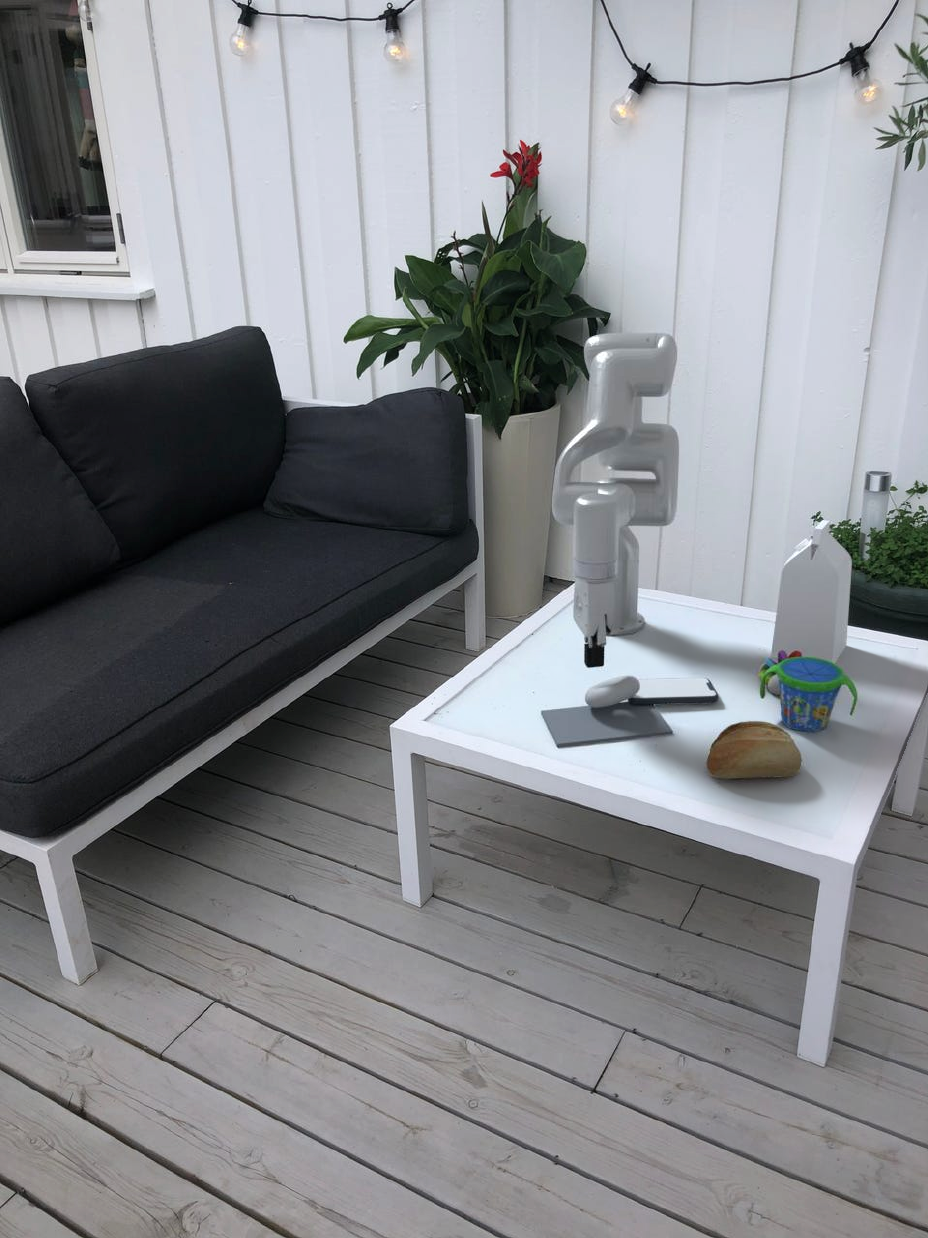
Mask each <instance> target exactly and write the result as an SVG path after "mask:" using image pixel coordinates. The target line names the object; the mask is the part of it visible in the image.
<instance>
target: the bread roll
mask: <svg viewBox="0 0 928 1238" xmlns="http://www.w3.org/2000/svg"><path fill="white" fill-rule="evenodd" d="M802 763H803V759H802V754H801V751H800V750H799V748H798V746H797V745H796V742H795V740H794V739H793V738H792V736H791V734H789V733H788V732H787V731H786V730H784V729H783V728H782V727H780V726H779V725H777V724H774V723H771V722H767V721H762V720H761V721H759V720H758V721H755V720H754V721H753V720H751V721H750V720H749V721H748V720H747V721H741V722H736V723H733V724H730V725H728V726H727V727H725V729H723V730H722V731H721V732H720V733H719V735H718V736H717V738H716V739H715V740H714V741H713V742H712V744H711V746H710V749H709V752H708V755H707V758H706V763H705V764H706V770H707V772H708V773H709V774H710V776H712V777H716V778H718V779H748V778H749V779H753V778H754V779H755V778H756V779H757V778H788V777H791V776H794V775H795V774H797V773H798V772H799V771H801V768H802Z"/></svg>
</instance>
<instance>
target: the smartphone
mask: <svg viewBox="0 0 928 1238" xmlns="http://www.w3.org/2000/svg"><path fill="white" fill-rule="evenodd" d="M637 679H638V681H639V684H640V689H639V691H638V693H636V694H635V695H634V696H633V697H631V698H629V699H627V702H629V703H630V704H632V705H657V706H659V705H689V704H715V703H718V701H719V693H718V691H717V690H716V688H715V686H714V685H713V683H712V682H711V680H710V679H709V678H707V677H675V678H673V677H669V678H637Z"/></svg>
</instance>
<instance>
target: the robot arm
mask: <svg viewBox="0 0 928 1238" xmlns="http://www.w3.org/2000/svg"><path fill="white" fill-rule="evenodd" d="M584 343H585V344H584V347H583V357H584V363H585V365H586V369H587V372H588V374H589V380H588V381H589V382H588V391H587V401H586V410H585V411H586V412H585V423H584V427H583V428H582V430H580V431H579V432H578V433H577V434H576V435H575V436H574V437H573V438H572V439H571V440H570V441H569V442H568V443H567V445H566V446H565V448H564V449H563V451H562V452H561V454H560V455H559V457H558V459H557V462H556V465H555V469H554V478H553V484H552V485H553V487H552V495H551V512H552V516H553V517H554V519H555V521H556V522H557V523H559V524H562V525H566V526H573V549H572V550H573V553H572V554H573V559H572V560H573V561H572V562H573V565H572V566H573V569H572V570H573V571H572V572H573V575H572V576H573V577H574V578H575V579H574V580H575V581H574V593H573V594H574V595H573V613H572V614H573V615H572V616H573V617H572V618H573V620H574V622H575V624H576V625H577V627H578V629H579V630H580V632H581V633H582V635H583V638H584V645H583V646H584V647H583V649H584V650H583V651H584V653H583V655H584V657H583V662H584V663H583V664H584V665H585V667H586V668H588V669H592V668H603V667H604V666H605V646H606V645H607V635H608V636H611V635H612V636H614V635H616V636H620V635H629V634H633V633H636V632H638V631H640V630H642V628H644V626H645V617H644V616H643V615H642V614H641V613H639V612H638V604H639V603H638V601H639V600H638V599H639V598H638V597H639V596H638V594H639V569H640V568H639V567H640V563H639V562H640V544H639V541H638V539H637V537H636V535H635V534H634V533H633V530H631V529H630V527H636V526H637V527H667V526H669V525H671V524H672V523H673V522H674V520H675V518H676V515H677V509H678V492H679V491H678V490H679V489H678V488H679V487H678V485H679V470H680V469H679V466H680V465H679V464H680V441H679V435H678V432H677V431H676V428H675V427H673V426H672V425H670V424H667V423H656V422H655V423H651V422H648V423H647V422H644V421H643V419H642V417H643V415H642V414H643V398H644V397H645V398H651V397H652V398H660V397H664V396H666V395H667V394H668V393H670V390H671V387H672V385H673V380H674V377H675V371H676V366H677V361H678V347H677V342H676V340H675V338H674V337H673V335H671V334H669V333H666V332H665V333H662V332H653V333H652V332H647V333H646V332H639V333H638V332H610V333H609V332H606V333H600V334H596V335H593V336H590V337H588V339H587V340H586V341H585V342H584ZM594 455H597V459H598V462H599V464H600V466H601V467H602V468H603V469H604V470H607V471H614V472H615V471H616V472H635V473H636V472H642V473H644V472H645V473H652V474H653V475H654V476H655V478H636V477H607V478H602V479H599V480H597V481H595V482H592V481H591V482H589V481H571V479H572V475H573V472H574V471H575V469H576V468H577V467H578V466H579V465H580V464H581V463H582V462H584V461H585V460H587V459H588V458H591V457H592V456H594Z"/></svg>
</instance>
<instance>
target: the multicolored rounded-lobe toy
mask: <svg viewBox="0 0 928 1238" xmlns="http://www.w3.org/2000/svg"><path fill="white" fill-rule="evenodd" d="M793 657H802V654H801V652H799V651H794V652H792V653H791V654H790V655H789V656H787V654H786V652H785V651H783V650H781V651H779V653H778V658H777V662H778V663H777V662H775V660H773V658H771V657H767V658H766V659H764V663H763V664H761V665H760V667H759V670H758V673H759V674H758V679H759V680H760V681H761V680H762V677H763V676H764V674H765V672H766V671H767V670H768V669H769V668H770V667H772V666H774V665H776V664H779V663H780V662H782V661H783V660H785V659H788V658H793ZM765 685H767V687H768V690H769V692H771V693H772V694H773V695H778V696H780V684H779V678H778V675H777V674H776V673H775V672H771V673H769V674H768V675H767V676H766V678H765Z"/></svg>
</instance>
